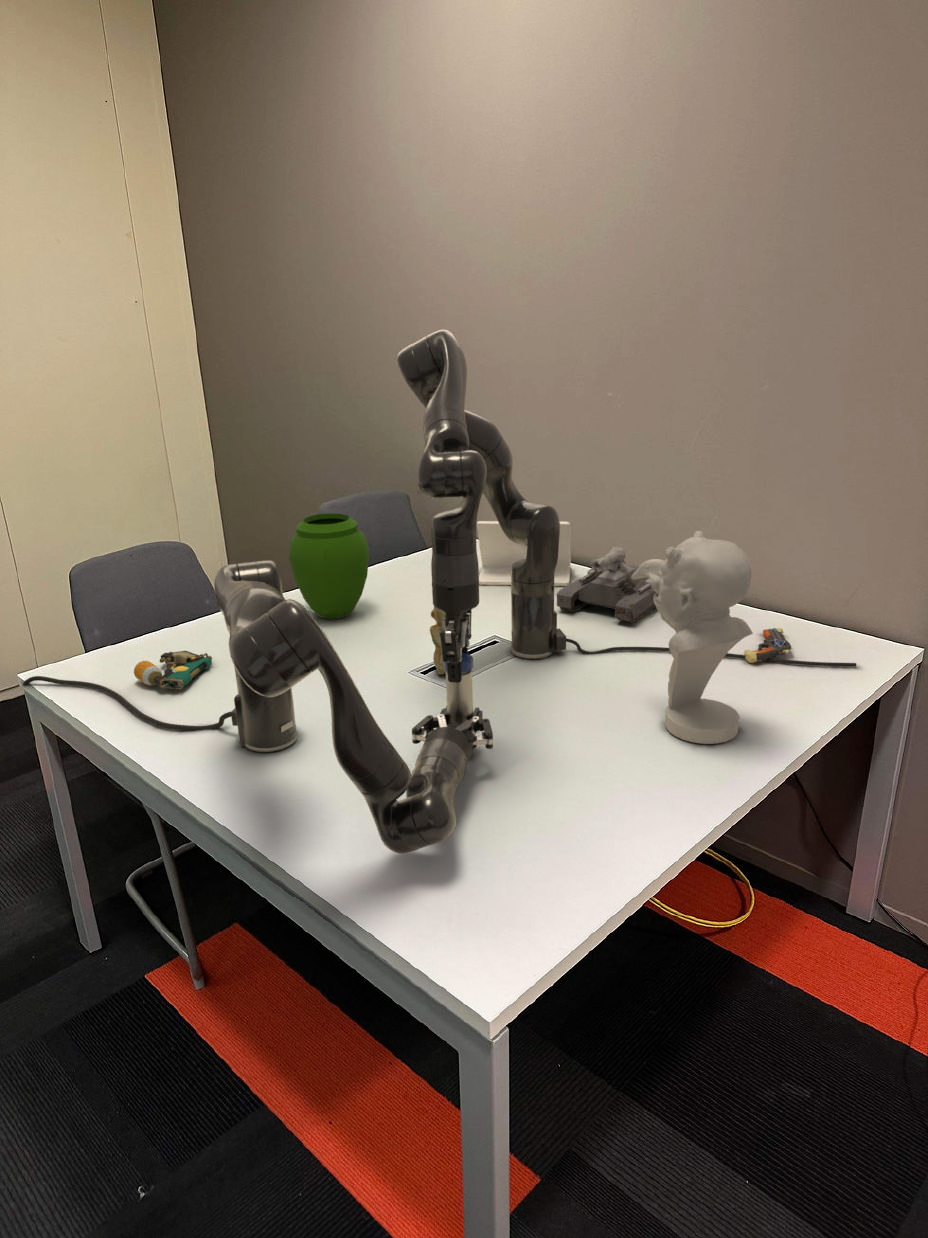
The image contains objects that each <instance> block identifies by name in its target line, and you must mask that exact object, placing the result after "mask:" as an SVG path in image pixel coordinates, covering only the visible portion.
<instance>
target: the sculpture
mask: <svg viewBox="0 0 928 1238" xmlns="http://www.w3.org/2000/svg"><path fill="white" fill-rule="evenodd" d="M445 615H446V613H445V612H444V611H442V610H439V609H437V608H436V607H434V606H433V610H431V612H430V617H431V618H432V619H433V620H434V621H435V622H436V623H435V624H433V625H431V626H429V633H430V636H431V640H432V641H431V642H432V643H433V645H434V648H435V649H434V652H433V656H432V657H433V659H432V660H433V665H434V667H435V668H436V671H437V674H438V675H446V670H445V669H444V662H443V656H442V647H441V638H440V632H441V630H443V628H442V621H443V618H445ZM452 653H454V652H450V654H452Z"/></svg>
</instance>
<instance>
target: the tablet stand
mask: <svg viewBox="0 0 928 1238" xmlns="http://www.w3.org/2000/svg"><path fill="white" fill-rule="evenodd" d="M476 532H477V537H478V544H479V551H480V557H481V558H480V559H481V570H480V571H479V585H484V586H485V585H486V586H487V585H489V586H490V585H491V586H511V567H512V564H513V563H515V562H516V561H519V560H522V559H526V555H527V546H524V545H520V544H517V543H514V542H512V541H511V540H509V539H508V538H507V537H506V535H505V534H504V532H503V530H502V529H501V527H500V525H499V523H498V520H477V521H476ZM571 560H572V558H571V522H569V521H560V536H559V551H558V561H557V565H556V568H555V572H554V587H556V586H557V587H566V586H567V585H569V584H570V580H571V579H570V578H571V565H572V564H571Z"/></svg>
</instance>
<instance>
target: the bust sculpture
mask: <svg viewBox="0 0 928 1238" xmlns="http://www.w3.org/2000/svg"><path fill="white" fill-rule="evenodd" d="M664 554H665V559H660V558H653V559H648V560H645V561H644V562H642V563H641V564H640V565H639V566H638V567H639V568H638V569H637V570H636V571H635V573H634V574H633V575H632V576H631V578H632V579H634V580H635V579H640V578H644V577H647V578H649V579H650V583H651V587H652V589H653V590H654V591H655V592H656V593H655V594H654V597H653V600H654V604H655V605H656V607H655V608H656V611H657V612H658V614H659V615H660V618H661V619H662V620H663V622H665V623H666V624H667V625H668V626H669V627H670V628H671V629H672V630H673V631H675V634H673V635H672V636H671V638H669V641H668V648H669V649H670V651H669V653H670V654H671V657H672V658H673V660H672V663H671V666H670V669H669V673H668V682H667V694H668V696H667V697H668V700H667V705H668V706H666V708H665V718H664V726H665V728H666V730H667V731H668V732H669V733H670V734H671V735H673V736H675V737H676V738H679V739H680V740H683V741H687V742H691V743H696V744H703V745H713V744H721V743H726V742H729V741H731V740H733V739H734V738H736V736H738V733H739V729H740V728H739V727H740V715H739V714H740V713H738V711H737V710H736V709H735V708H734V707H732V706H730V705H728V704H727V703H724V702H721V701H719V700H714V699H709V698H702V696H703V695H704V694H703V693H704V692H705V690H706V687H707V685H708V684H709V681H710V680H711V678H712V676H713V674H714V673H715V671H716V670H717V668H718V667H719V665H720V664H721V662H722V661H723V660H724V658H725V655H726V654H727V653H729V652H730V651H731V650H732V649H733V648H734V647H735V646H736V645H738V643H739V642H741V641H742V640H743V639H745V638H747V637H749V636H751V635H753V634H754V632H753V630H752V629H751V628H750V626H749V624H748V623H747V622H746V621H745V620H744V619H743V618H740V617H737V616H731V614H730V613H731V610H730V608H732V607H734V606H736V605H737V604H739V603H740V602H741V601H742V600H744V599H745V597H746V595H747V594H748V592H749V590H750V586H751V583H752V574H753V573H752V572H753V571H752V565H751V561H750V559H749V557H748V555H747V554H746V552H745V551H744V550H743V549H742V548H741V547H740V546H739V545H737V544H736V543H734V542H731V541H728V540H723V539H711V538H707V536H706V534H705V532H703V530H696V531H694V533H693V536H691V537H689V538H687V539H684V541H682V542H681V543H679V544H678V545H677V546H675V547H674V546H669V547H667V548H666V551H665V553H664Z"/></svg>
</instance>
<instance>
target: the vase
mask: <svg viewBox="0 0 928 1238" xmlns="http://www.w3.org/2000/svg"><path fill="white" fill-rule="evenodd" d="M358 524H359V523H358V521H356V520H355V519H353V518H352V517H350V516H349V515H347V514H344V513H335V512H334V513H333V512H331V513H320V514H313V515H310V516H307V517H305V518H303V519H302V520H301V521H300V522H299V523H298V524H297V525H296V526H295V532H296V533H295V534H294V536H293V537H292V538H291V540H290V542H289V551H288V559H289V564H290V566H291V567H290V568H291V570H292V575H293V578H294V581H295V584H296V586H297V587H298V589H299V591H300V593H301V596H302V597H303V600H304V601H305V603H306V604H307V605H308V607H309V608H310V609H311V611H312V612H314V613H315V614H316V615H317V616H318V617H320V618H324V619H326V620H327V619H329V620H336V619H341V618H345V617H347V616H349V615H350V614H351V613H352V612H353V611H354V610H355V608H356V607H357V605H358V604H359V601H360V599H361V597H362V595H363V592H364V588H365V586H366V581H367V578H368V570H369V561H370V560H369V559H370V548H369V545H368V541H367V537H366V535H365V534H364V533H363V532H362V531H361V530H360V529H359V527H358Z"/></svg>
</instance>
